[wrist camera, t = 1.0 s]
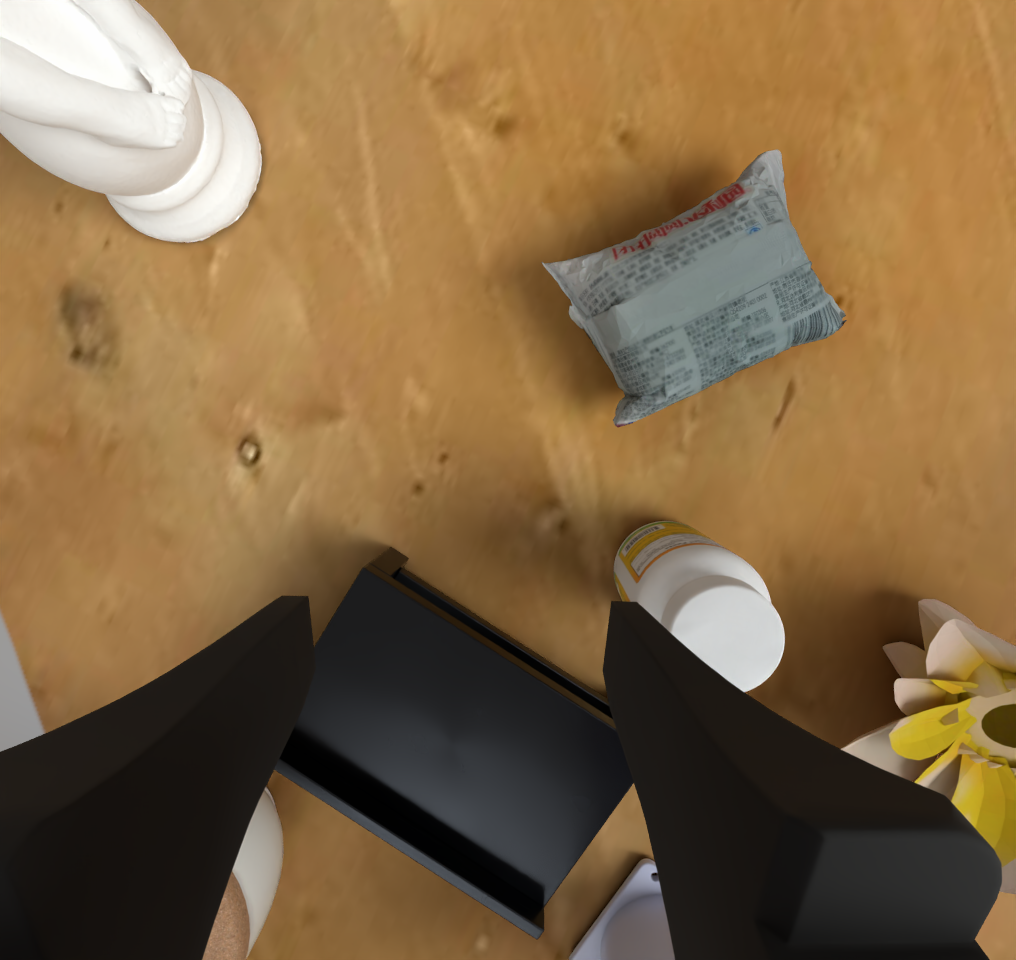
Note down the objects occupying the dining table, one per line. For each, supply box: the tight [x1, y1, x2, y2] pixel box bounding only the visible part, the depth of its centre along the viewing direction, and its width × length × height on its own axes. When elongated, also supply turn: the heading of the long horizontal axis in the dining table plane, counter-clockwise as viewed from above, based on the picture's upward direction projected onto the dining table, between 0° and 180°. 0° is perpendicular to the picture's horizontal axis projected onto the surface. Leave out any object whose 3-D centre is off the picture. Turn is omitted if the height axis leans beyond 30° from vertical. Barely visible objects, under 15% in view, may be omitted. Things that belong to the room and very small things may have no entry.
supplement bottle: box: [614, 521, 785, 692], centre depth 23 cm, size 5×5×10 cm
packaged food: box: [542, 150, 847, 427], centre depth 24 cm, size 9×12×5 cm
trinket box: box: [202, 787, 284, 960], centre depth 26 cm, size 11×11×9 cm
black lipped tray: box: [274, 547, 634, 939], centre depth 26 cm, size 16×10×6 cm, turn 58°
